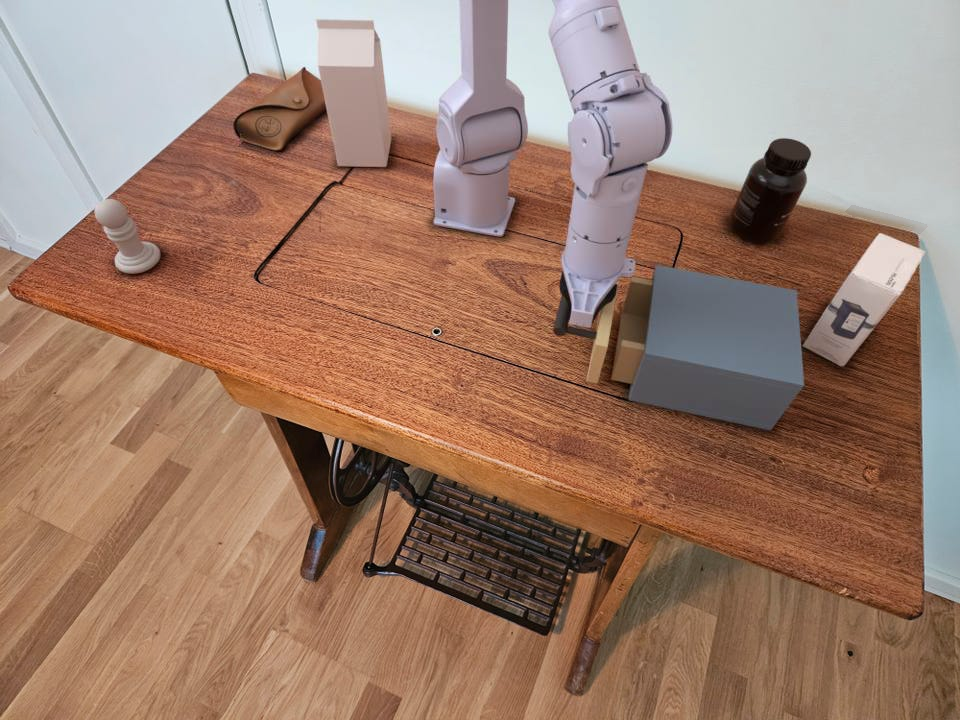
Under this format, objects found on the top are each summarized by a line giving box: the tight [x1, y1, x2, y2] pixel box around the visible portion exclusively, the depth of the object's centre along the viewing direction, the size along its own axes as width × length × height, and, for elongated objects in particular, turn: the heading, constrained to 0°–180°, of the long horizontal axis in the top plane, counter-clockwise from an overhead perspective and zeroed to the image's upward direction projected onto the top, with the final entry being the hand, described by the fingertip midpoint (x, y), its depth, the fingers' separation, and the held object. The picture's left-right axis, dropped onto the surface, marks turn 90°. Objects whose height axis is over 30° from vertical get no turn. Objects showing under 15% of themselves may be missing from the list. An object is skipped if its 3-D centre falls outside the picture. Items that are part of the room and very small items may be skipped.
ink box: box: [802, 232, 926, 367], centre depth 67 cm, size 8×5×12 cm, turn 140°
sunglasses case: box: [232, 66, 327, 152], centre depth 96 cm, size 18×7×7 cm
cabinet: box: [628, 264, 805, 431], centre depth 65 cm, size 15×13×8 cm
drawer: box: [552, 276, 653, 385], centre depth 66 cm, size 18×11×6 cm, turn 76°
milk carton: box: [315, 18, 392, 168], centre depth 84 cm, size 7×7×19 cm
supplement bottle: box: [728, 137, 812, 244], centre depth 78 cm, size 7×7×12 cm
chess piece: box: [93, 198, 161, 275], centre depth 74 cm, size 5×5×9 cm
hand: (580, 322), depth 67 cm, fingers closed, pressing on drawer
